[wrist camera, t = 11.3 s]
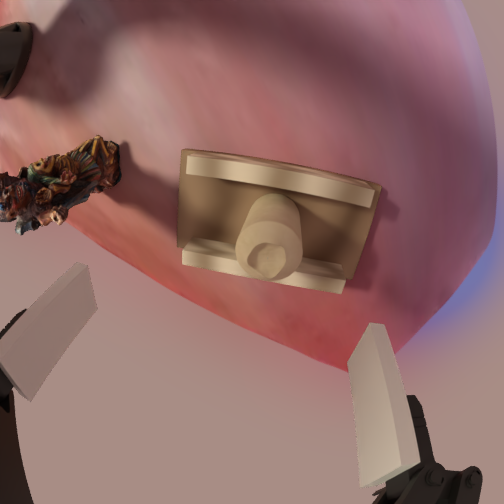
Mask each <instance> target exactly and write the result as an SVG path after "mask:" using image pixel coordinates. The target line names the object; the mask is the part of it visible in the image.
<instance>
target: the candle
mask: <svg viewBox="0 0 504 504" xmlns="http://www.w3.org/2000/svg"><path fill="white" fill-rule="evenodd" d="M235 253H236V258H237V261H238V263H239V264H240V266H241V267H242V269H243V270H244V271H245V272H246V273H248V274H249V275H251V276H252V277H254V278H257V279H260V280H264V281H277V280H281V279H284V278H286V277H288V276H290V275H291V274H292V273H293V272H294V271H295V270H296V269H297V268H298V267H299V265H300V263H301V260H302V256H303V248H302V235H301V224H300V215H299V211H298V208H297V206H296V205H295V203H294V202H293V201H292V200H291V199H290V198H288V197H286V196H284V195H282V194H277V193H271V194H266V195H264V196H262V197H260V198H259V199H257V200H256V201H255V202H254V204H253V205H252V207H251V209H250V211H249V213H248V216H247V218H246V220H245V223H244V225H243V227H242V230H241V232H240V234H239V237H238V239H237V242H236V247H235Z"/></svg>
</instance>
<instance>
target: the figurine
mask: <svg viewBox="0 0 504 504" xmlns="http://www.w3.org/2000/svg"><path fill="white" fill-rule="evenodd" d="M119 158H120V155H119V145H118V144H115V143H114V142H112V141H110V142H108V141H103V137H101V136H99V135H97V136H96V137H95V138H93V139H90V140H87V141H85V142H83V143H82V144H80V145H79V146H78V147H76V149H74V150H72V151H71V152H68V153H66V154H65V155H62V156H60V155H59V154H56V155H52V156H50V157H49V156H48V157H47V158H45V159H42V158H41V159H40V160H39V161H37V162H34V163H31V164H30V166H29V167H28V168H27V167H26V168H25V167H22V168H20V171H19V175H18V176H17V177H19V178H17V177H14V176H9V175H8V172H5V173H3V174H2V173H0V222H11V221H14V220H16V219H17V223H16V229H15V231H16V233H17V234H19V235H23V234H24V232H26V231H28V230H36V229H38V228H39V226H41V225H42V226H43V225H44V226H47V225H48V224H49V223H50V222H52V221H55V222H56V223H57V224H58V225H61V224H62V223H63V222H64V221H65V220H66V218H67V215H68V210H69V209H70V208H72V207H73V206H75V205H78V204H80V203H83V202H85V201H87V200H88V198H89V196H90V193H100V192H102V191H103V189H106V188H108V189H109V188H110V189H111V187H112V186H114V185H116V184H117V183H118V182H119V181H120V179H121V171H120V166H119Z"/></svg>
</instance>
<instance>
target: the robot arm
mask: <svg viewBox="0 0 504 504" xmlns="http://www.w3.org/2000/svg"><path fill="white" fill-rule="evenodd" d="M31 44H32V29H31V26H30V25H29V24H28V23H25V22H14V23H10V24H7V25H4V26H1V27H0V98H2V97H5V96H7V95H8V94H9V93H10V92H11V91H12V90H13V89H14V88H15V86H16V85H17V83H18V81H19V79H20V77H21V75H22V73H23V71H24V69H25V66H26V63H27V60H28V57H29V53H30V49H31ZM97 309H98V308H97V304H96V300H95V296H94V293H93V288H92V283H91V278H90V273H89V268H88V265H85V264H81V263H78V262H77V263H75V264H74V265H73V266H72V267H71V268H70V269H69V270H68V271H66V272H65V273H64V274H63V275H62V276H61V277H60V278H59V279H58V280H57V281H56V282H55V283H54V284H52V285H51V287H49V288H48V289H47V290H46V291H45V292H44V293H43V294H42V295H41V296H40V297H39V298H38V299H37V300H36V301H35V302H34V303H33V304H32V305H31V306H30V308H28V309H25V310H23V311H21V312H19V313H18V314H16V316H15V317H14V318H13V319H12V320H11V321H10V323H8V324H7V325H6V326H5V329H3V330H2V331H1V332H0V504H34V503H33V500H32V497H31V494H30V490H29V487H28V483H27V480H26V476H25V471H24V467H23V462H22V458H21V453H20V447H19V441H18V434H17V428H16V427H17V426H16V418H15V406H14V394H13V391H12V388H13V387H15V388H16V390H17V391H18V392H19V394H20V395H22V396H23V397H24V398H26V399H27V400H29V401H30V402H31V401H32V399H33V398H34V396H35V395H36V393H37V391H38V390H39V388H40V387H41V385H42V384H43V382H44V381H45V379H46V378H47V376H48V375H49V373H50V372H51V371H52V369H53V368H54V366H55V365H56V363H57V362H58V361H59V359H60V358H61V356H62V355H63V354H64V352H65V351H66V349H67V348H68V347H69V345H70V344H71V342H72V341H73V340H74V339H75V337H76V336H77V335H78V333H79V332H80V331H81V329H82V328H83V327H84V325H85V324H86V323H87V321H88V320H89V319H90V318H91V317H92V315H93V314H94V313H95V312H96V310H97ZM347 365H348V371H349V378H350V385H351V393H352V400H353V408H354V418H355V427H356V438H357V449H358V464H359V485H360V488H363V487H372V486H378V485H379V484H382V483H384V482H386V487H384V488H382V489H380V490H378V491H376V492H375V493H374V494H372V495H373V496H375V495H378V494H379V495H378V497H377V498H376V499H375V501H374V502H373V503H372V504H478V502H479V497H480V492H481V486H482V473H481V471H480V469H479V468H477V467H475V466H470V467H468V468H467V469H465V470H463V471H450V470H445V468H444V467H443V466H442V465H441V464H439V463H436V462H435V460H434V456H433V452H432V447H431V442H430V437H429V433H428V429H427V427H426V421H425V418H424V413H423V409H422V406H421V404H420V402H419V401H418V399H417V398H416V396H415V395H406V393H405V389H404V386H403V382H402V379H401V375H400V372H399V368H398V365H397V362H396V358H395V355H394V352H393V349H392V346H391V343H390V340H389V337H388V334H387V331H386V328H385V325H384V324H377V323H369V324H368V326H367V328H366V330H365V332H364V334H363V336H362V337H361V339H360V341H359V343H358V345H357V346H356V348H355V350H354V352H353V353H352V355H351V357H350V358H349V360H348V362H347Z"/></svg>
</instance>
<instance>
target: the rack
mask: <svg viewBox="0 0 504 504" xmlns="http://www.w3.org/2000/svg"><path fill="white" fill-rule="evenodd" d="M381 189H382V186H380V185H379V184H376V183H373V182H369V181H365V180H362V179H358V178H354V177H350V176H346V175H342V174H338V173H334V172H329V171H325V170H320V169H316V168H311V167H306V166H301V165H296V164H291V163H286V162H280V161H275V160H269V159H263V158H257V157H250V156H244V155H237V154H229V153H222V152H213V151H204V150H195V149H183V150H182V151H181V164H180V178H179V196H178V221H177V247H179V248H184V249H183V250H182V264H184V265H189V266H194V267H198V268H203V269H208V270H213V271H218V272H223V273H228V274H233V275H239V276H244V277H249V278H254V277H252V276H251V275H249V274H248V273H246V272H245V271H244V270H243V269H242V267H241V266H240V264H239V263H238V261H237V258H236V253H235V247H236V242H237V239H238V237H239V234H240V232H241V230H242V227H243V225H244V223H245V220H246V218H247V216H248V213H249V211H250V209H251V207H252V205H253V204H254V202H255V201H256V200H257V199H259V198H260V197H262V196H264V195H266V194H271V193H277V194H282V195H284V196H286V197H288V198H290V199H291V200H292V201H293V202H294V203H295V205H296V206H297V208H298V211H299V215H300V224H301V235H302V248H303V256H302V260H301V263H300V265H299V267H298V268H297V269H296V270H295V271H294V272H293V273H292V274H291V275H290V276H288V277H286V278H284V279H281V280H277V281H270V282H276V283H281V284H287V285H292V286H298V287H303V288H309V289H315V290H320V291H326V292H332V293H338V294H341V293H342V290H343V288H344V285H345V282H346V279H350V280H352V278H353V276H354V273H355V270H356V268H357V265H358V262H359V259H360V256H361V254H362V251H363V248H364V245H365V242H366V239H367V236H368V233H369V229H370V226H371V223H372V220H373V217H374V213H375V210H376V206H377V203H378V199H379V196H380V192H381ZM254 279H257V278H254ZM259 280H260V279H259Z"/></svg>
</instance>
